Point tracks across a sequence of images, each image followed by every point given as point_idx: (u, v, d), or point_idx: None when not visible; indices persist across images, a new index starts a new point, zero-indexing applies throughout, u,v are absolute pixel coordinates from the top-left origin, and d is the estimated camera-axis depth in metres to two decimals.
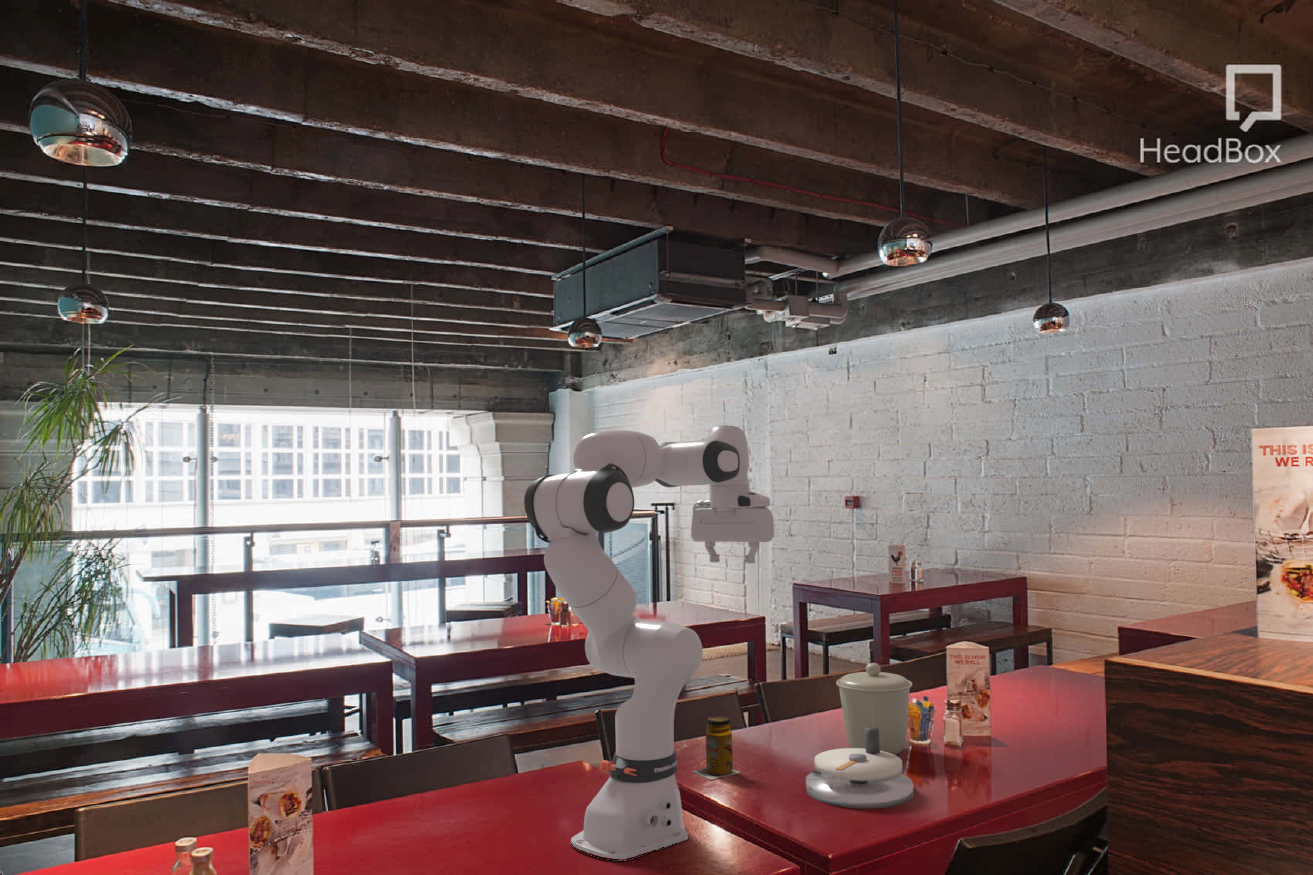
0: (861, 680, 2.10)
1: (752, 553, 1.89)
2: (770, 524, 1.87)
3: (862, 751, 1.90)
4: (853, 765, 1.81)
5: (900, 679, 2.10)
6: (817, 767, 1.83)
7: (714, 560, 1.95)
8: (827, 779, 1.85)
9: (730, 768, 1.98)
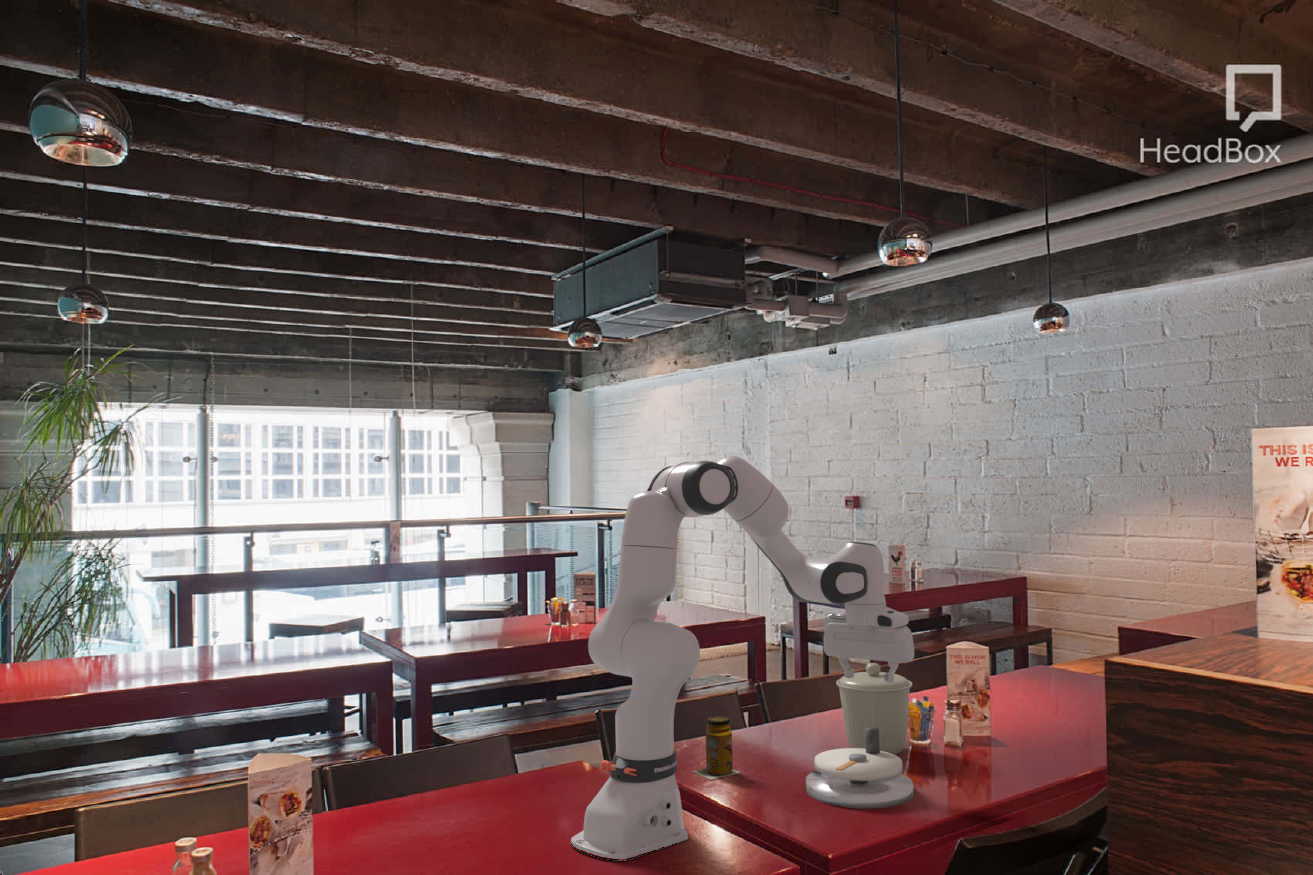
0: (861, 680, 2.10)
1: (892, 672, 1.87)
2: (911, 644, 1.86)
3: (862, 751, 1.90)
4: (853, 765, 1.81)
5: (900, 679, 2.10)
6: (817, 767, 1.83)
7: (849, 676, 1.93)
8: (827, 779, 1.85)
9: (730, 768, 1.98)
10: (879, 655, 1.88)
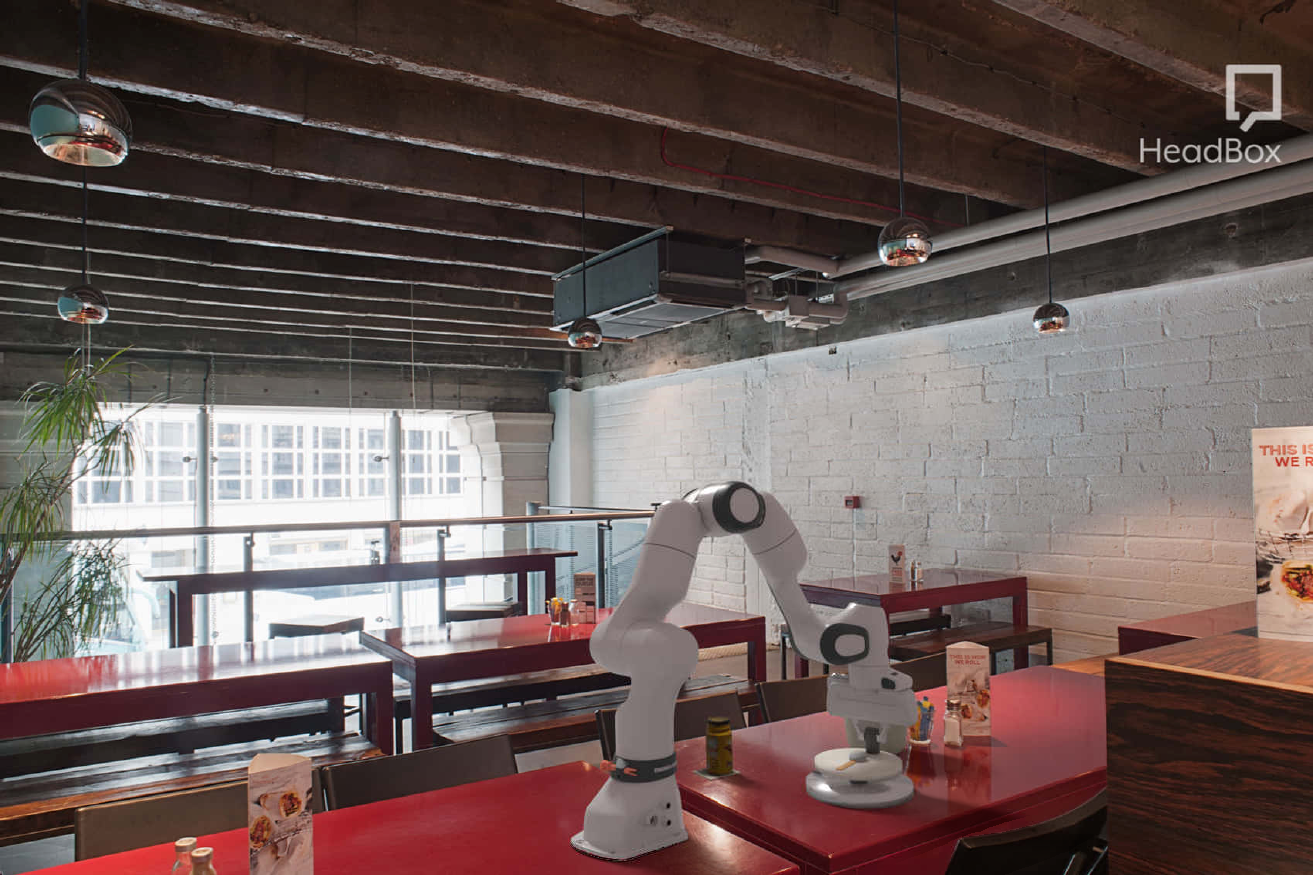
0: None
1: (884, 733, 1.88)
2: (914, 707, 1.85)
3: (862, 751, 1.90)
4: (853, 765, 1.81)
5: None
6: (817, 767, 1.83)
7: (863, 738, 1.91)
8: (827, 779, 1.85)
9: (730, 768, 1.98)
10: (882, 717, 1.87)
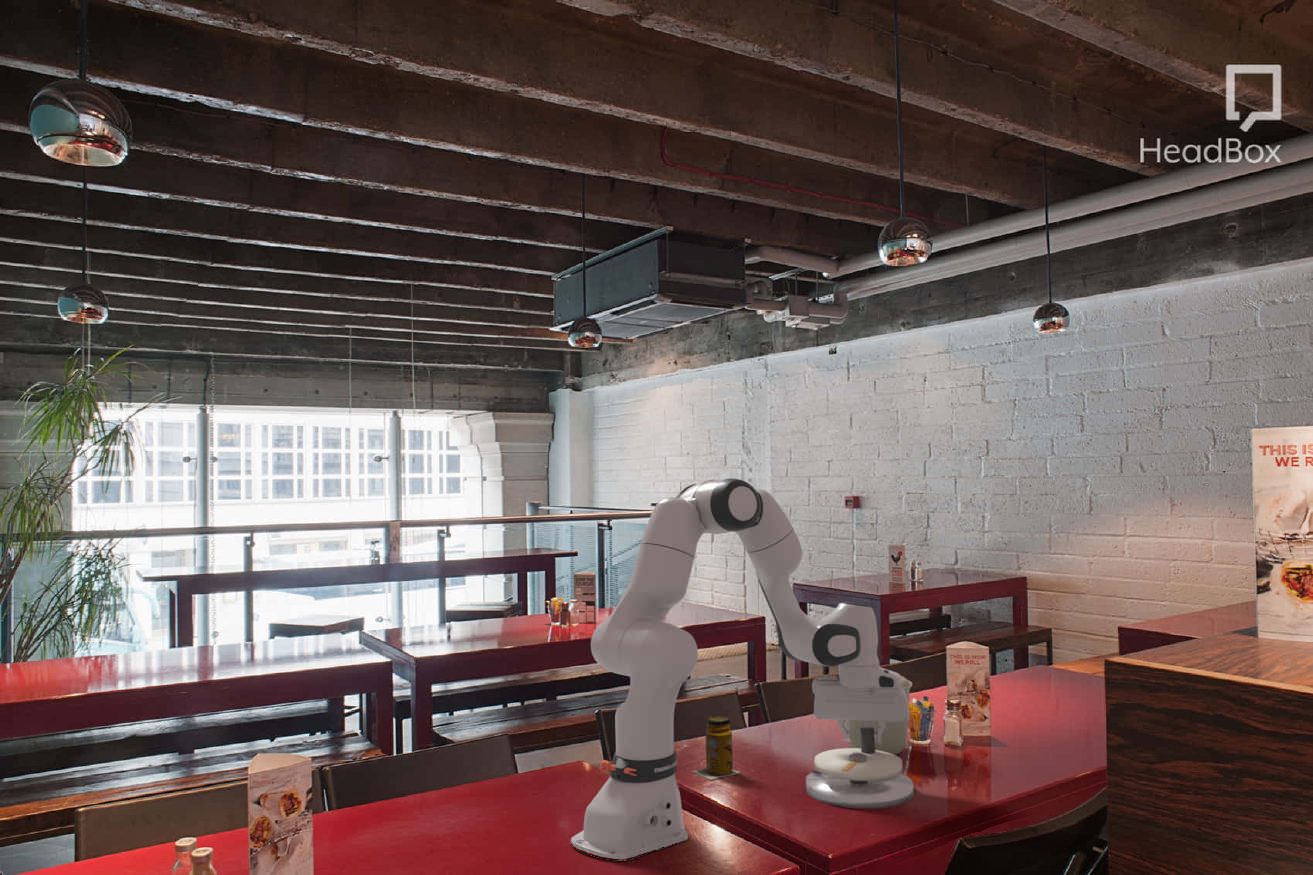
0: None
1: None
2: (907, 702, 1.89)
3: (858, 751, 1.91)
4: (856, 766, 1.80)
5: None
6: (820, 769, 1.82)
7: (849, 739, 1.91)
8: (827, 779, 1.85)
9: (730, 768, 1.98)
10: (877, 716, 1.88)
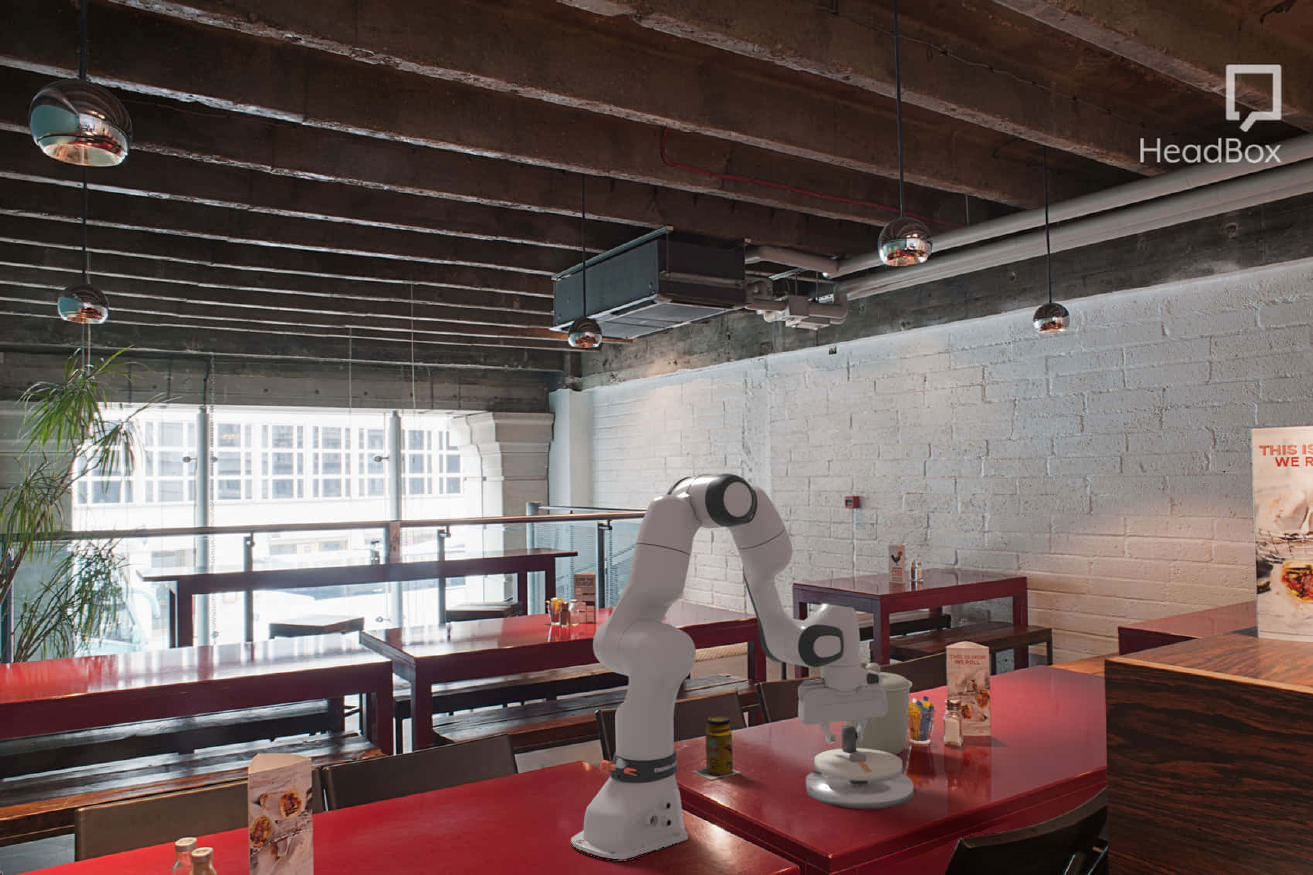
0: None
1: None
2: None
3: (841, 752, 1.91)
4: (869, 765, 1.80)
5: (900, 679, 2.10)
6: (838, 775, 1.77)
7: (834, 741, 1.90)
8: (827, 779, 1.85)
9: (730, 768, 1.98)
10: (862, 713, 1.91)
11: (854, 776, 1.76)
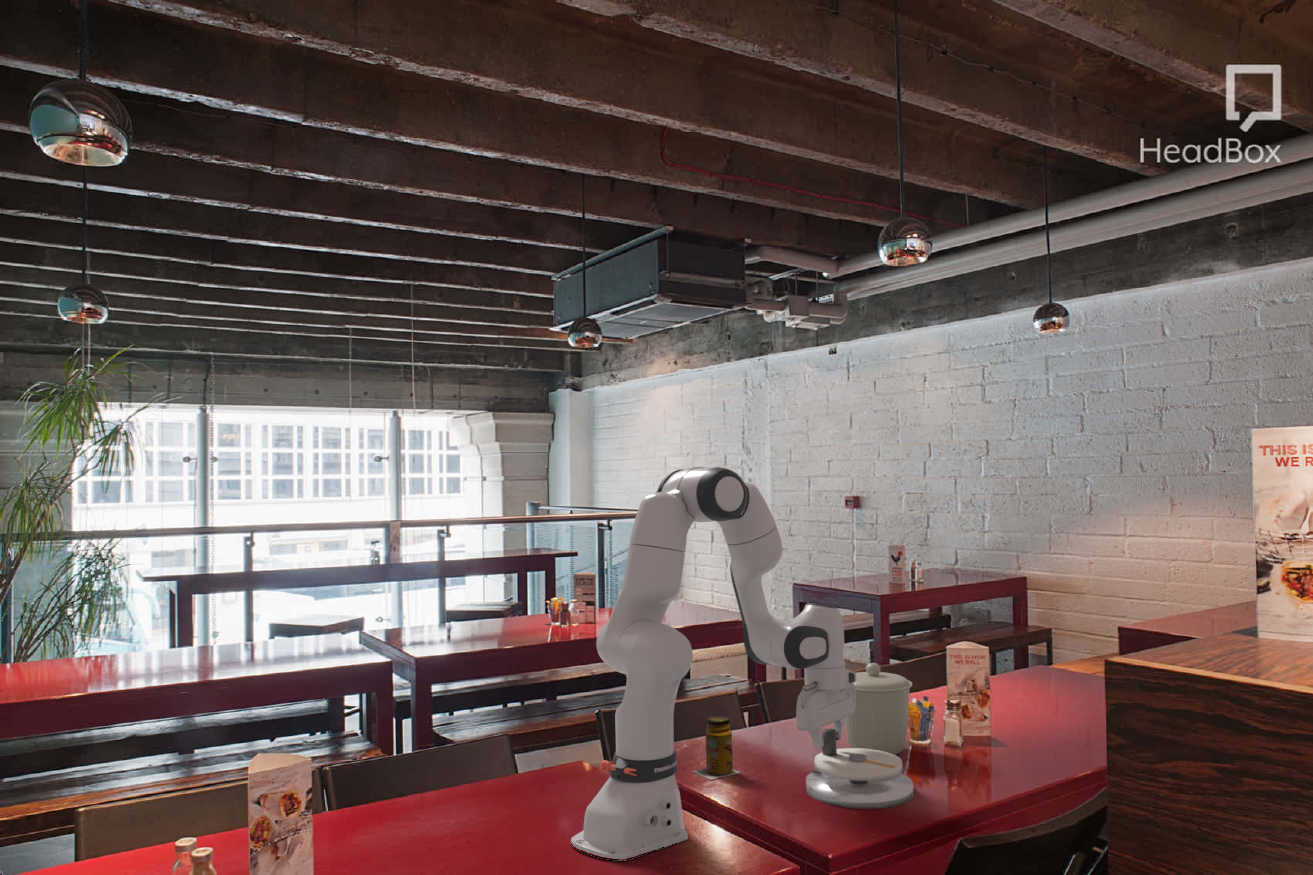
0: (861, 680, 2.10)
1: None
2: None
3: (828, 756, 1.88)
4: (878, 762, 1.82)
5: (900, 679, 2.10)
6: (872, 777, 1.76)
7: (823, 745, 1.86)
8: (827, 779, 1.85)
9: (730, 768, 1.98)
10: (842, 713, 1.91)
11: (886, 774, 1.76)
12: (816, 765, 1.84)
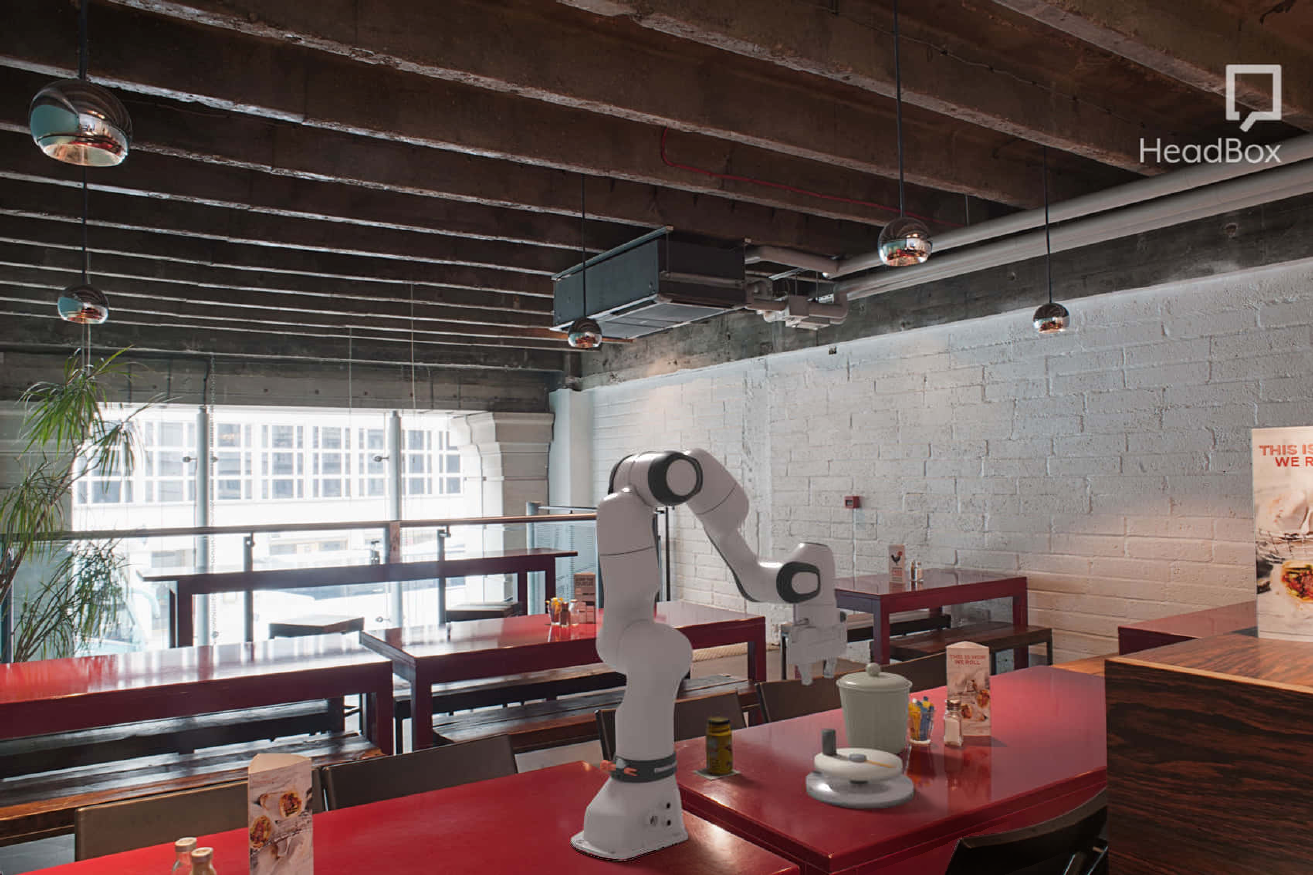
0: (861, 680, 2.10)
1: None
2: None
3: (828, 756, 1.88)
4: (878, 762, 1.82)
5: (900, 679, 2.10)
6: (872, 777, 1.76)
7: (811, 682, 1.87)
8: (827, 779, 1.85)
9: (730, 768, 1.98)
10: (833, 652, 1.93)
11: (886, 774, 1.76)
12: (816, 765, 1.84)
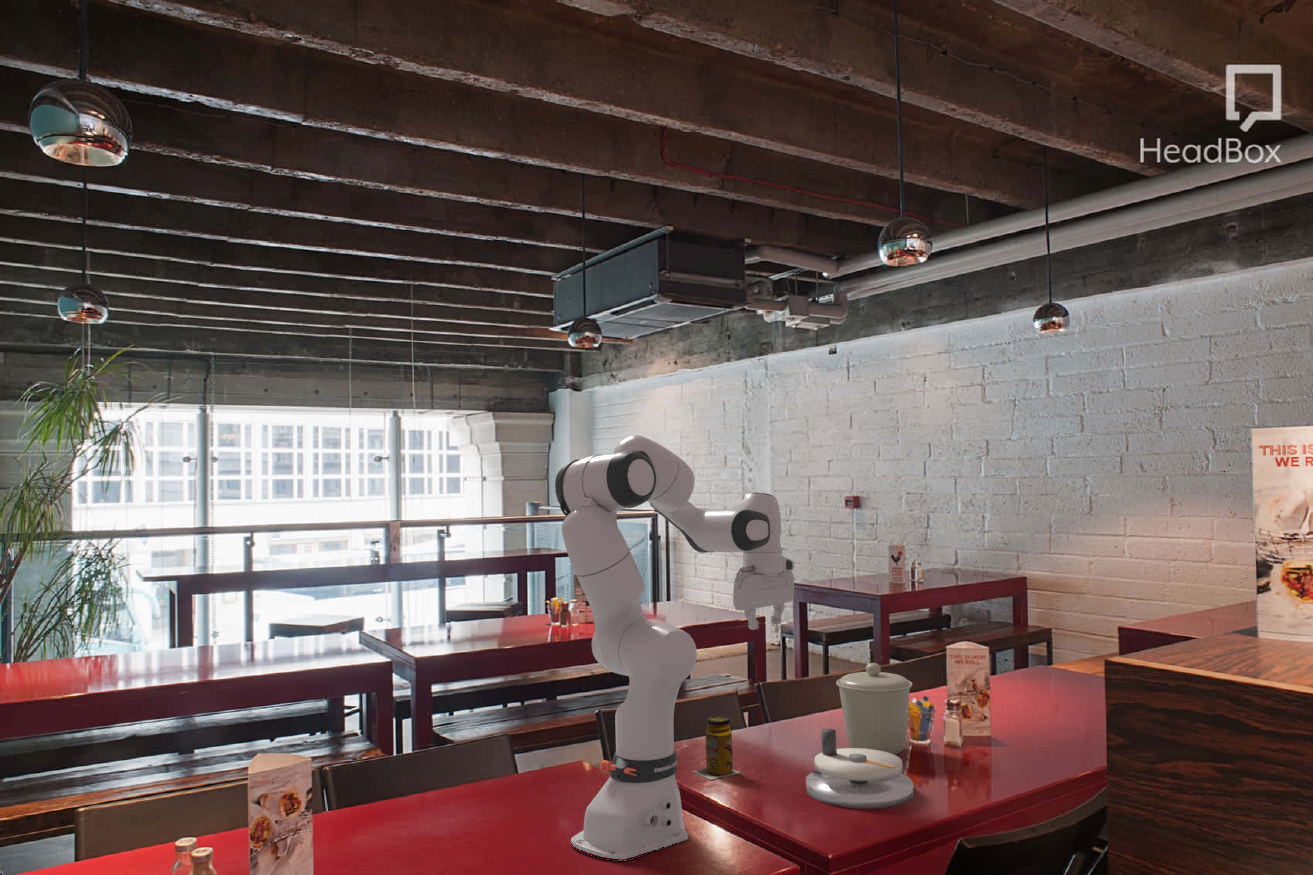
0: (861, 680, 2.10)
1: None
2: None
3: (828, 756, 1.88)
4: (878, 762, 1.82)
5: (900, 679, 2.10)
6: (872, 777, 1.76)
7: (758, 626, 1.93)
8: (827, 779, 1.85)
9: (730, 768, 1.98)
10: (779, 599, 1.99)
11: (886, 774, 1.76)
12: (816, 765, 1.84)
